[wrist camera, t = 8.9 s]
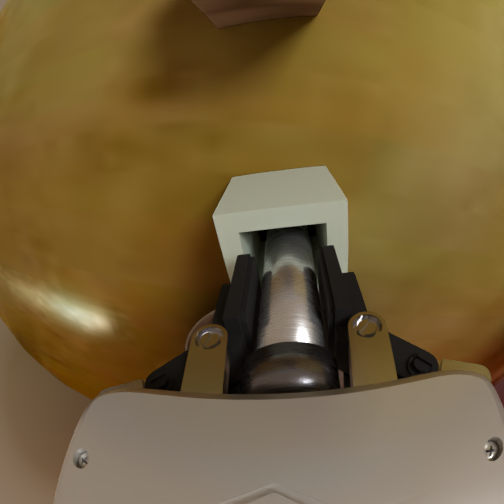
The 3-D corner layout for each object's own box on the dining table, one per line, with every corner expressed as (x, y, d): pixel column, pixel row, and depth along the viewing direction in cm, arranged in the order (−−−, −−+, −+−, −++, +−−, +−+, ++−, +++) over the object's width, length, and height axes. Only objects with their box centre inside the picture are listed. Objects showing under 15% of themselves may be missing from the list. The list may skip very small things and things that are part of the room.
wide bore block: (325, 165, 16) (347, 200, 11) (330, 246, 19) (346, 302, 14) (232, 177, 17) (212, 215, 12) (249, 254, 20) (239, 312, 15)
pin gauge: (307, 195, 16) (347, 385, 6) (311, 238, 18) (338, 425, 7) (259, 201, 17) (226, 391, 6) (266, 243, 18) (248, 430, 8)
